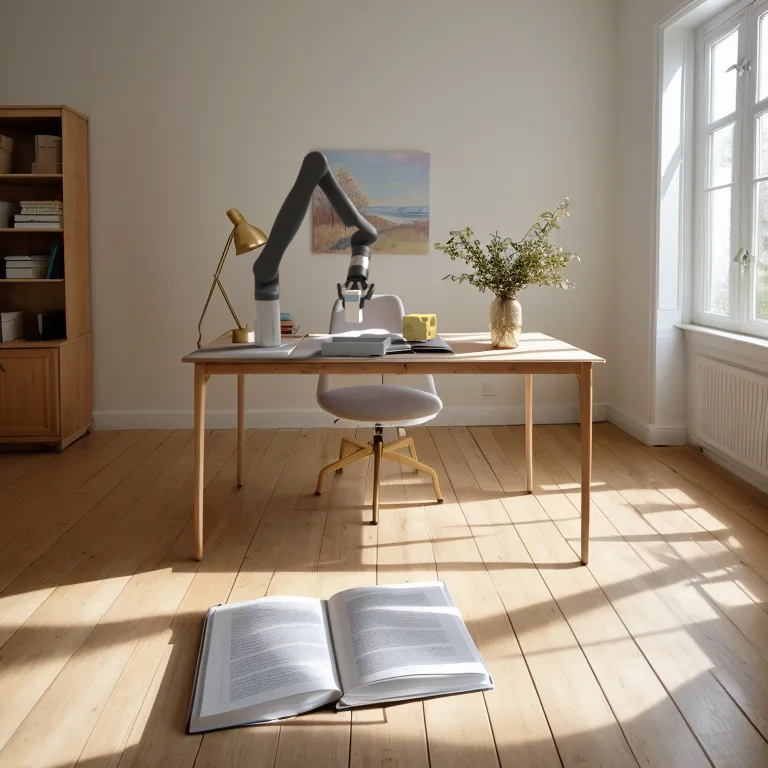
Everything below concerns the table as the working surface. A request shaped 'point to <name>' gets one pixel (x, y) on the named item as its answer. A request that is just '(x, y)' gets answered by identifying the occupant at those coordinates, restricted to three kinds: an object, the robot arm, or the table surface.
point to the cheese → (419, 327)
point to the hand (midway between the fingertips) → (352, 307)
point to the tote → (355, 346)
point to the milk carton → (353, 306)
